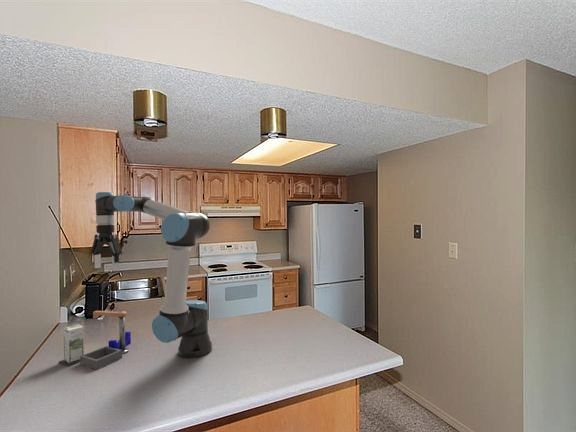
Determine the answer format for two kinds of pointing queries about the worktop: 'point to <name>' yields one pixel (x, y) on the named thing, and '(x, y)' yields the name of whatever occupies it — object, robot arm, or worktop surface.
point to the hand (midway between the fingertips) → (106, 268)
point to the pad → (68, 363)
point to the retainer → (109, 313)
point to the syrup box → (73, 343)
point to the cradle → (95, 363)
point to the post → (122, 335)
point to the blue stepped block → (117, 345)
